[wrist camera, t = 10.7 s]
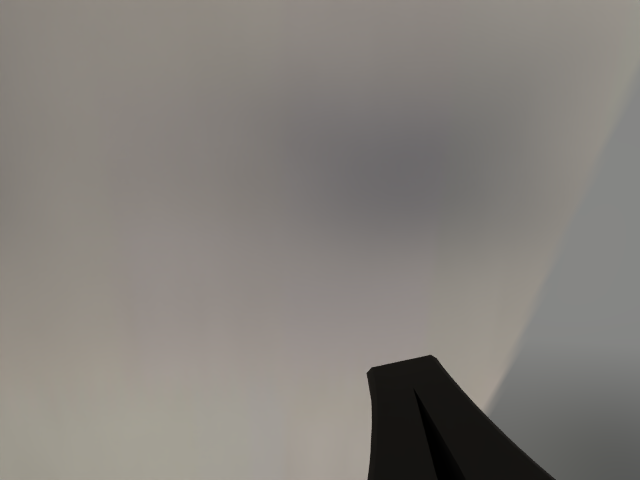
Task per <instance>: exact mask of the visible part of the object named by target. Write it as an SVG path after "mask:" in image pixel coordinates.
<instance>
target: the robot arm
mask: <svg viewBox="0 0 640 480" xmlns="http://www.w3.org/2000/svg"><path fill="white" fill-rule="evenodd" d="M367 378H368V384H369V390H370V395H371V402H372V433H371V453H370V465H369V473H368V480H556V479H554V478H553V477H552V476H551V475H549V474H548V473H547V472H546V471H545V470H544V469H542V468H541V467H540V466H539V465H538V464H537V463H535V462H534V461H533V460H532V459H531V458H530V457H529V456H528V455H527V454H526V453H524V452H523V451H522V450H521V449H520V448H519V447H518V446H517V445H516V444H515V443H513V442H512V441H511V440H510V439H509V438H508V437H507V436H506V435H505V434H504V433H503V432H502V431H501V430H500V429H499V428H498V427H497V426H496V425H495V424H494V423H493V422H492V421H491V420H490V419H489V418H488V417H487V416H486V415H485V414H484V413H483V412H482V411H481V410H480V409H479V408H478V407H477V406H476V405H475V403H474V402H473V401H472V400H471V399H470V398H469V397H468V396H467V395H466V394H465V392H464V391H463V390H462V389H461V388H460V387H459V386H458V385H457V383H456V382H455V381H454V380H453V379H452V377H451V376H450V375H449V374H448V373H447V371H446V370H445V369H444V368H443V366H442V365H441V364H440V362H439V361H438V360H437V358H435V357H433V356H432V355H428V356H423V357H419V358H414V359H409V360H405V361H400V362H395V363H391V364H386V365H381V366H377V367H372V368H371V369H370V370H369V371H368V372H367Z"/></svg>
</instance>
